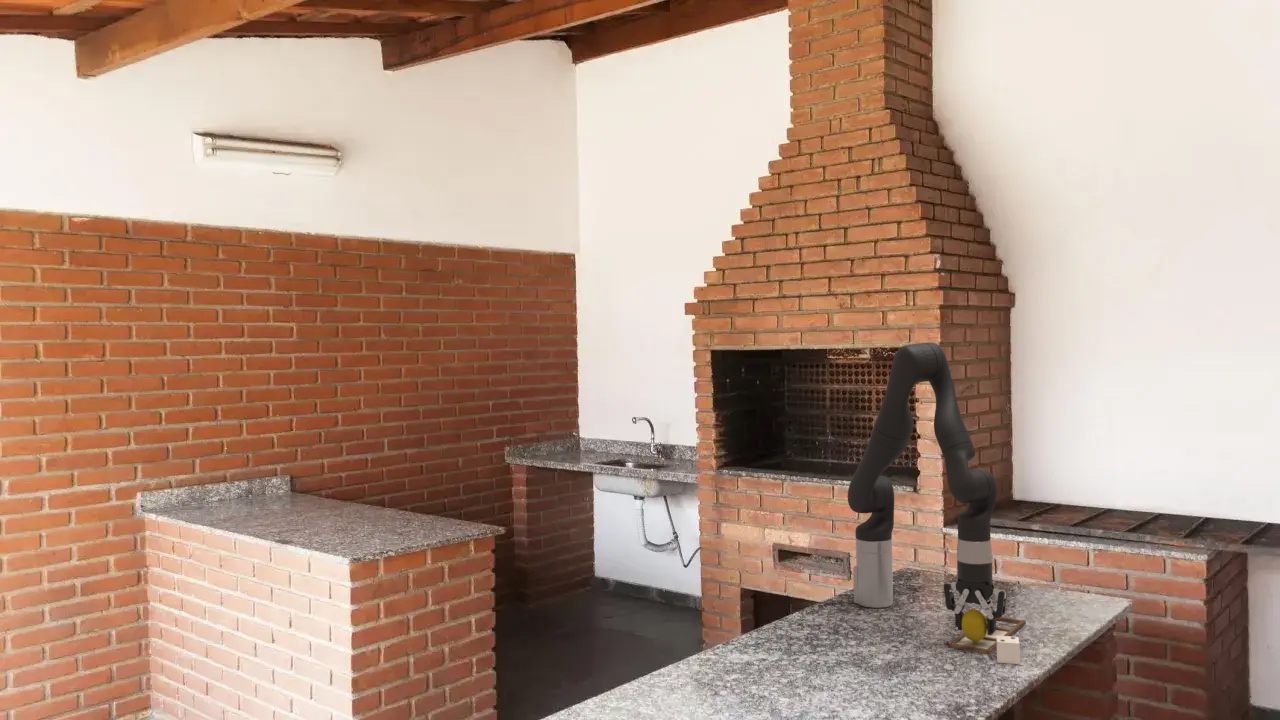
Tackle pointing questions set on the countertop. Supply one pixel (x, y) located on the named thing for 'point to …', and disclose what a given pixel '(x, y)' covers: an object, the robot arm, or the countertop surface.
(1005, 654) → the die
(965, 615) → the lemon
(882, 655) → the countertop surface
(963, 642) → the board
